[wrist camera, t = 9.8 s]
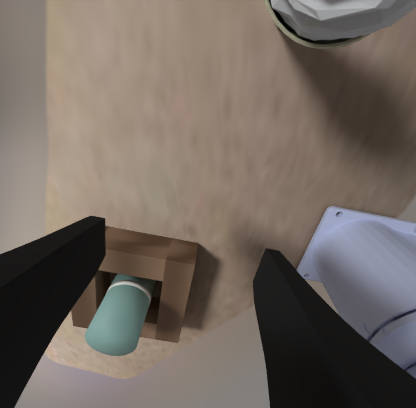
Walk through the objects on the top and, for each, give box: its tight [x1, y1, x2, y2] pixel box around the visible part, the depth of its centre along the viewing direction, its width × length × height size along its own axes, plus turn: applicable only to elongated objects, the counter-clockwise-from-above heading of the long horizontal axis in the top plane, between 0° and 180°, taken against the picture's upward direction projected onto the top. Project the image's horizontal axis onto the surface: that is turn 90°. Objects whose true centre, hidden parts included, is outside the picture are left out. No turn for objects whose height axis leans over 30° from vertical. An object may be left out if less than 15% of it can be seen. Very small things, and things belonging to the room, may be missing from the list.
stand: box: [71, 226, 198, 343], centre depth 22 cm, size 11×11×3 cm
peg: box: [85, 273, 157, 356], centre depth 20 cm, size 4×4×7 cm
